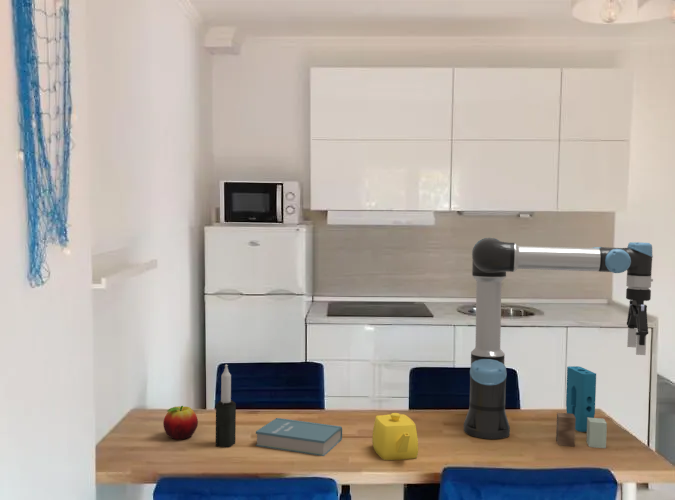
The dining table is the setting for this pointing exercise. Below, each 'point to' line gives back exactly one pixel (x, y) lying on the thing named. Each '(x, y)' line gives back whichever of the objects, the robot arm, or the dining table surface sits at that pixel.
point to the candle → (225, 413)
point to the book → (299, 436)
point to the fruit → (180, 422)
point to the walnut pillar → (565, 429)
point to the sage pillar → (596, 432)
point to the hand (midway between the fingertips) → (636, 350)
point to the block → (580, 395)
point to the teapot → (395, 437)
